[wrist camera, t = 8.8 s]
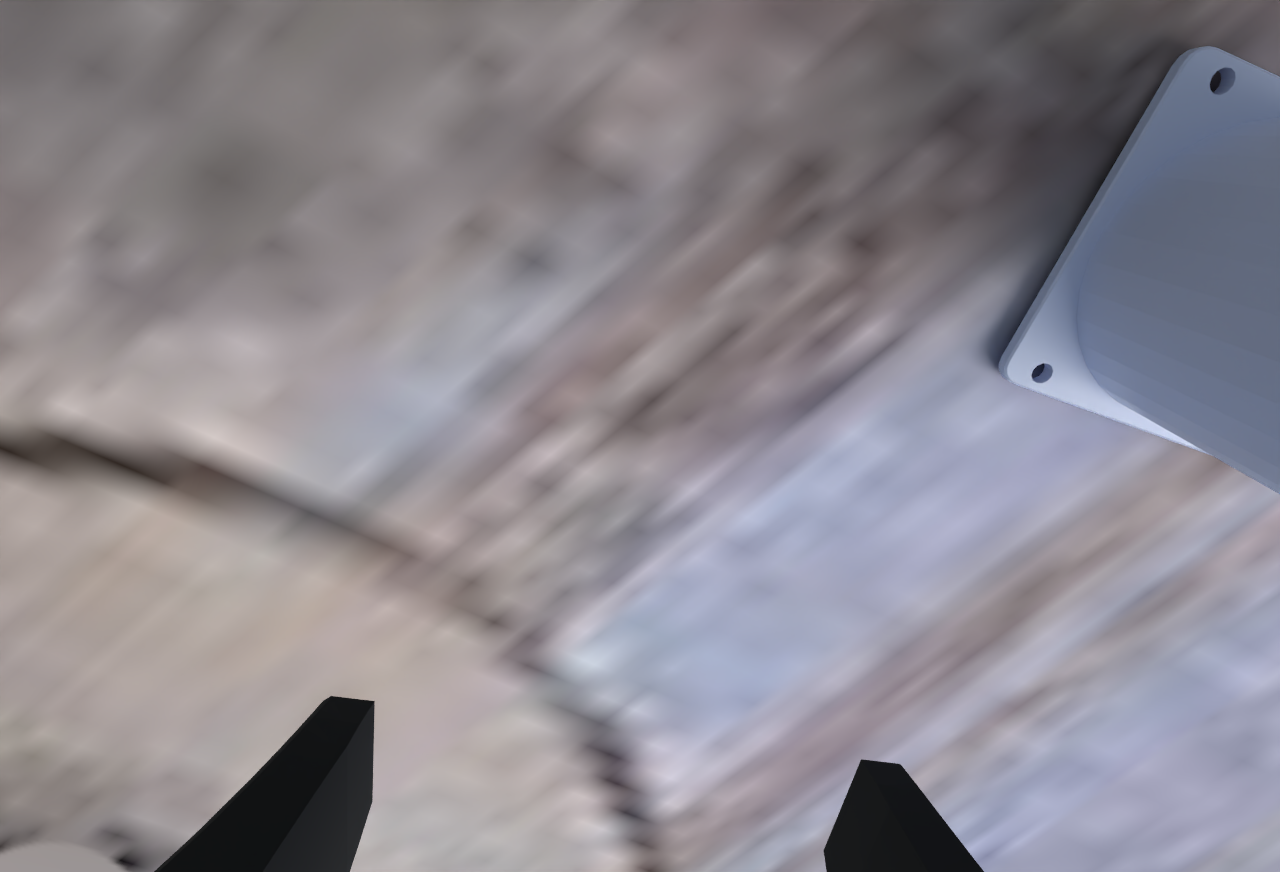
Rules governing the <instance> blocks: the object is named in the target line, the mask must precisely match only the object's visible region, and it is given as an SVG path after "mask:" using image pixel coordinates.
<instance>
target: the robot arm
mask: <svg viewBox="0 0 1280 872" xmlns="http://www.w3.org/2000/svg"><path fill="white" fill-rule="evenodd" d="M1217 71H1219V72H1220V73H1221V82H1220V85H1219V87H1218V88H1217V89H1216V90H1215V91H1214V93H1213V92H1212V91H1211V90H1210V81H1211V79H1212V76H1213V75H1214V74H1215V73H1216V72H1217ZM1042 363H1044V366H1045V367H1044V370H1043V372H1042V373H1041V374H1040V375H1039V376H1037V377H1035V378H1032V372H1033V370H1034V369H1035V368H1036V367H1037V366H1038V365H1040V364H1042ZM999 372H1000V374H1001V375H1002V377H1004V378H1005V379H1007V380H1008V381H1010V382H1011V383H1013V384H1015V385H1017V386H1020V387H1023V388H1026V389H1029V390H1031V391H1034V392H1037V393H1040V394H1042V395H1045V396H1048V397H1051V398H1053V399H1056V400H1059V401H1062V402H1065V403H1067V404H1070V405H1073V406H1076V407H1078V408H1081V409H1084V410H1087V411H1090V412H1092V413H1095V414H1098V415H1101V416H1103V417H1106V418H1109V419H1112V420H1115V421H1117V422H1120V423H1123V424H1126V425H1128V426H1131V427H1134V428H1137V429H1140V430H1142V431H1145V432H1148V433H1151V434H1153V435H1156V436H1159V437H1162V438H1164V439H1167V440H1170V441H1173V442H1176V443H1178V444H1181V445H1184V446H1187V447H1189V448H1192V449H1195V450H1198V451H1201V452H1203V453H1206V454H1209V455H1212V456H1214V457H1215V458H1217V459H1219V460H1221V461H1222V462H1224V463H1226V464H1228V465H1229V466H1231V467H1233V468H1235V469H1236V470H1238V471H1240V472H1242V473H1243V474H1245V475H1247V476H1249V477H1251V478H1252V479H1254V480H1256V481H1258V482H1259V483H1261V484H1263V485H1265V486H1266V487H1268V488H1270V489H1272V490H1273V491H1275V492H1277V493H1279V494H1280V76H1277V75H1275V74H1273V73H1271V72H1269V71H1267V70H1264V69H1262V68H1260V67H1258V66H1256V65H1254V64H1251V63H1249V62H1247V61H1245V60H1243V59H1241V58H1238V57H1236V56H1234V55H1232V54H1230V53H1228V52H1225V51H1223V50H1221V49H1219V48H1217V47H1211V46H1204V47H1197V48H1194V49H1190V50H1188V51H1186V52H1185V53H1183V54H1182V55H1180V56H1179V57H1178V58H1177V60H1176V61H1175V62H1174V63H1173V65H1172V66H1171V68H1170V70H1169V71H1168V73H1167V75H1166V77H1165V78H1164V80H1163V82H1162V83H1161V85H1160V87H1159V89H1158V90H1157V92H1156V94H1155V95H1154V97H1153V99H1152V100H1151V102H1150V104H1149V106H1148V107H1147V109H1146V111H1145V112H1144V114H1143V116H1142V118H1141V119H1140V121H1139V123H1138V124H1137V126H1136V128H1135V129H1134V131H1133V133H1132V135H1131V136H1130V138H1129V140H1128V141H1127V143H1126V145H1125V147H1124V148H1123V150H1122V152H1121V153H1120V155H1119V157H1118V158H1117V160H1116V162H1115V164H1114V165H1113V167H1112V169H1111V170H1110V172H1109V174H1108V176H1107V177H1106V179H1105V181H1104V182H1103V184H1102V186H1101V187H1100V189H1099V191H1098V193H1097V194H1096V196H1095V198H1094V199H1093V201H1092V203H1091V205H1090V206H1089V208H1088V210H1087V211H1086V213H1085V215H1084V216H1083V218H1082V220H1081V222H1080V223H1079V225H1078V227H1077V228H1076V230H1075V232H1074V234H1073V235H1072V237H1071V239H1070V240H1069V242H1068V244H1067V245H1066V247H1065V249H1064V251H1063V252H1062V254H1061V256H1060V257H1059V259H1058V261H1057V263H1056V264H1055V266H1054V268H1053V269H1052V271H1051V273H1050V274H1049V276H1048V278H1047V280H1046V281H1045V283H1044V285H1043V286H1042V288H1041V290H1040V292H1039V293H1038V295H1037V297H1036V298H1035V300H1034V302H1033V303H1032V305H1031V307H1030V309H1029V310H1028V312H1027V314H1026V315H1025V317H1024V319H1023V321H1022V322H1021V324H1020V326H1019V327H1018V329H1017V331H1016V332H1015V334H1014V336H1013V338H1012V339H1011V341H1010V343H1009V344H1008V346H1007V348H1006V350H1005V351H1004V353H1003V355H1002V356H1001V359H1000V362H999ZM373 744H374V701H368V700H359V699H351V698H342V697H334V696H330V697H329V698H327V699H326V700H324V701H323V702H322V703H321V704H320V705H319V706H318V707H317V708H316V710H315V711H314V712H313V713H312V714H311V715H310V716H309V717H308V719H307V720H306V721H305V722H304V723H303V724H302V725H301V726H300V727H299V729H298V730H297V731H296V732H295V733H294V734H293V735H292V736H291V737H290V738H289V739H288V740H287V742H286V743H285V744H284V745H283V746H282V747H281V748H280V749H279V750H278V751H277V752H276V753H275V754H274V755H273V756H272V757H271V759H270V760H269V761H268V762H267V763H266V764H265V765H264V766H263V767H262V768H261V769H260V770H259V771H258V772H257V773H256V774H255V775H254V776H253V777H252V778H251V779H250V780H249V781H248V782H247V783H246V784H245V785H244V786H243V787H242V788H241V789H240V790H239V791H238V792H237V793H236V794H235V795H234V796H233V797H232V798H231V799H230V800H229V801H228V802H227V803H226V804H225V805H224V806H223V807H222V808H221V809H220V810H219V811H218V812H217V813H216V814H215V815H214V816H213V817H212V818H211V819H210V820H209V821H208V822H207V823H206V824H205V825H204V826H203V827H202V828H201V829H200V830H199V831H198V832H197V833H196V834H195V835H193V836H192V837H191V838H190V839H189V840H188V841H187V842H186V843H185V844H184V845H183V846H182V847H181V848H180V849H178V850H177V851H176V852H175V853H174V854H173V855H172V856H171V857H170V858H169V859H168V860H166V861H165V862H164V863H163V864H162V865H161V866H160V867H159V868H158V869H157V870H155V871H154V872H350V869H351V866H352V863H353V860H354V857H355V854H356V851H357V848H358V845H359V842H360V839H361V835H362V832H363V829H364V826H365V823H366V820H367V816H368V813H369V810H370V807H371V804H372V790H373ZM824 856H825V863H826V870H827V872H984V871H983V870H982V869H981V867H980V866H979V865H978V864H977V862H976V861H975V860H974V858H973V857H972V856H971V855H970V853H969V852H968V851H967V849H966V848H965V847H964V846H963V844H962V843H961V842H960V840H959V839H958V838H957V837H956V835H955V834H954V833H953V831H952V830H951V829H950V828H949V826H948V825H947V824H946V822H945V821H944V820H943V818H942V817H941V816H940V815H939V813H938V812H937V811H936V809H935V808H934V807H933V805H932V804H931V803H930V801H929V800H928V799H927V798H926V796H925V795H924V794H923V792H922V791H921V790H920V789H919V787H918V786H917V785H916V783H915V782H914V781H913V780H912V778H911V777H910V776H909V774H908V773H907V772H906V771H905V769H904V768H903V767H902V766H901V764H895V763H887V762H878V761H870V760H861V761H860V764H859V766H858V769H857V771H856V773H855V776H854V778H853V781H852V783H851V786H850V788H849V790H848V793H847V795H846V798H845V800H844V803H843V805H842V807H841V810H840V812H839V815H838V817H837V820H836V822H835V824H834V827H833V829H832V832H831V834H830V836H829V839H828V841H827V844H826V846H825V849H824Z"/></svg>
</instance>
